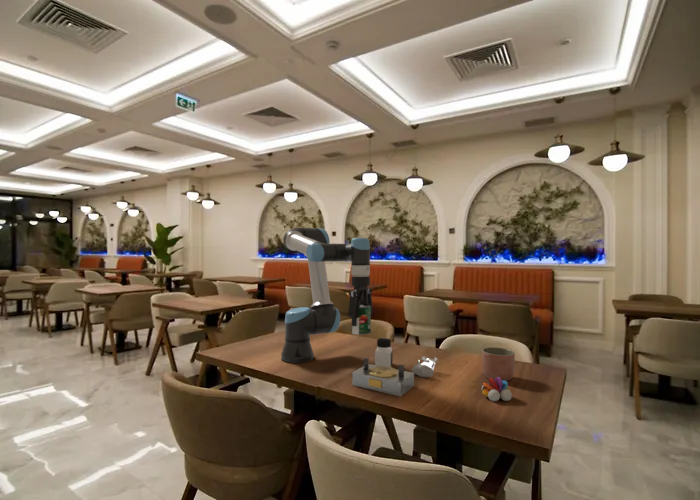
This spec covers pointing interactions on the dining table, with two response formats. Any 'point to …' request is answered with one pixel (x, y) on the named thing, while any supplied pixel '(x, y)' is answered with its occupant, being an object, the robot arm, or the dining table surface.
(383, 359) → the medicine bottle
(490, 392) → the rainbow wheeled toy
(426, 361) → the figurine
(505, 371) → the planter
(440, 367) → the dining table surface
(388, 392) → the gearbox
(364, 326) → the canned tomato
